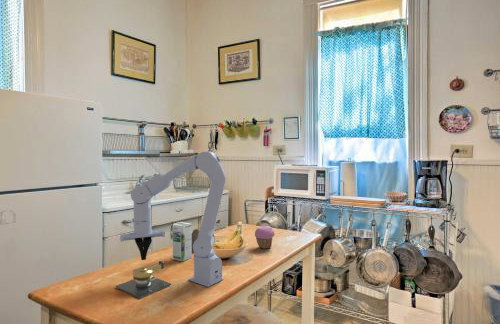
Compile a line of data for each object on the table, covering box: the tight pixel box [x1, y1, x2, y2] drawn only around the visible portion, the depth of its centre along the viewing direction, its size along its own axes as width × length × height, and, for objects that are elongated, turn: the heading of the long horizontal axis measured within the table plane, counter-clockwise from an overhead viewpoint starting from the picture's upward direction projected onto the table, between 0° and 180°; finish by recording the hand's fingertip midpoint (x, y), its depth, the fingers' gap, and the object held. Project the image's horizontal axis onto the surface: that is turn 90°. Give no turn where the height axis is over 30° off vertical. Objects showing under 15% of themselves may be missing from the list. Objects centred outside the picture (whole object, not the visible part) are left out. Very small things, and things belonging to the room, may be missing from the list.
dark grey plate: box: [114, 276, 172, 300], centre depth 108 cm, size 13×12×3 cm
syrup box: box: [172, 221, 193, 262], centre depth 134 cm, size 6×6×14 cm
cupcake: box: [254, 225, 275, 250], centre depth 149 cm, size 9×9×10 cm
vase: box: [192, 228, 200, 251], centre depth 147 cm, size 7×7×9 cm
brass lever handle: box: [132, 260, 165, 280], centre depth 110 cm, size 12×6×2 cm, turn 152°
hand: (143, 259), depth 114 cm, fingers closed
